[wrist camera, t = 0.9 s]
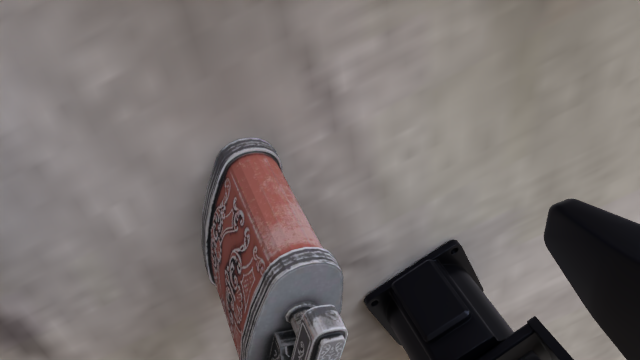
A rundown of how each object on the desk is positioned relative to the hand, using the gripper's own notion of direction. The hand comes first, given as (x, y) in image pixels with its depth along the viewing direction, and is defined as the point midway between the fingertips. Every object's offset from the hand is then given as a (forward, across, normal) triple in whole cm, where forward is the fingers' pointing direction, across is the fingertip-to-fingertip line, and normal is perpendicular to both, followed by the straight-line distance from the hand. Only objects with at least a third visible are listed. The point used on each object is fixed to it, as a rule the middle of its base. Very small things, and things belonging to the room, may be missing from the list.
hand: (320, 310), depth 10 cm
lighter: (+14, 0, +10) cm, 17 cm away
